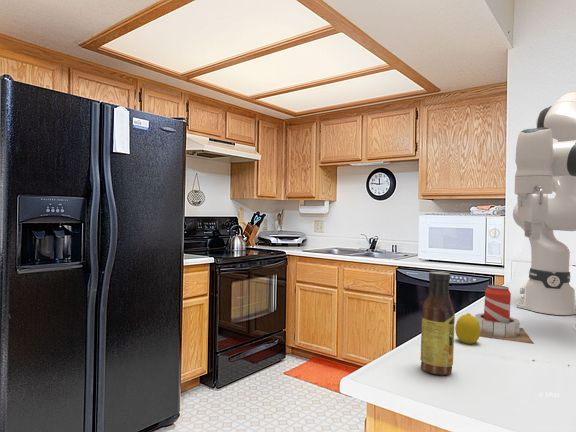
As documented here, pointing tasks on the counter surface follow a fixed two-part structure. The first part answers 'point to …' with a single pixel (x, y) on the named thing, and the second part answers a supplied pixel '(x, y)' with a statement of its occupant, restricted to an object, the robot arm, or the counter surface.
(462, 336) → the lemon
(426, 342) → the sauce bottle
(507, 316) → the beverage can
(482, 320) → the white segmented ring
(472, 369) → the counter surface
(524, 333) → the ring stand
